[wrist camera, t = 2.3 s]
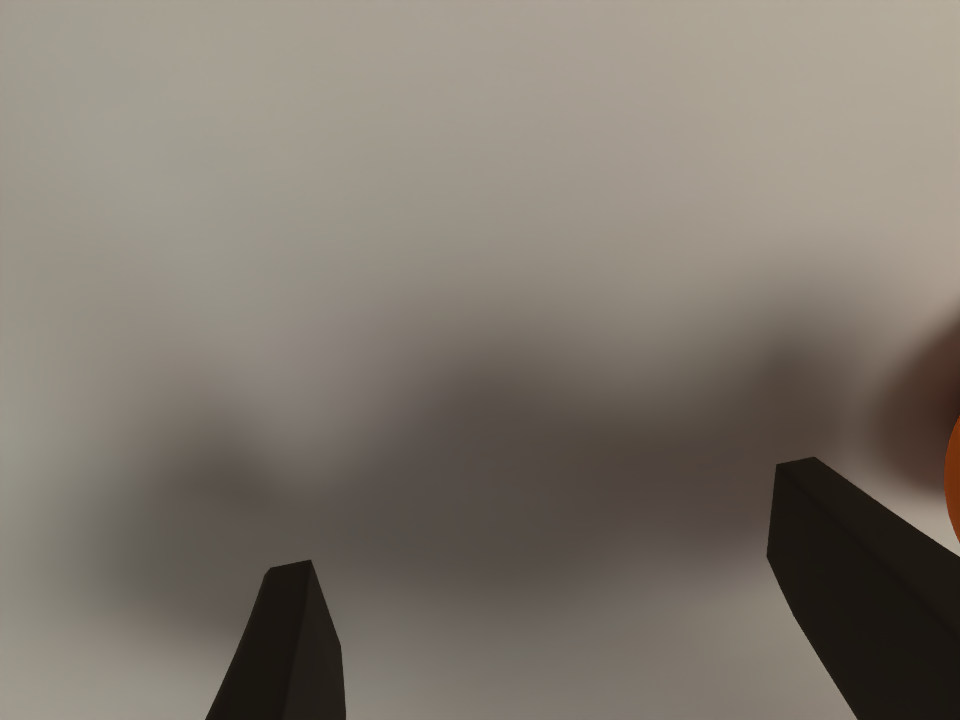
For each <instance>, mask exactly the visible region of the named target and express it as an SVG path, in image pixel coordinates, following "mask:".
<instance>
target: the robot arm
mask: <svg viewBox="0 0 960 720" xmlns="http://www.w3.org/2000/svg"><path fill="white" fill-rule="evenodd" d="M767 559H768V561H769V563H770V565H771V568H772V570H773V572H774V574H775V577H776V579H777V581H778V583H779V586H780V588H781V590H782V592H783V594H784V596H785V598H786V601H787V603H788V605H789V607H790V609H791V611H792V613H793V615H794V617H795V619H796V620H797V622H798V624H799V625H800V627H801V629H802V631H803V632H804V634H805V635H806V637H807V639H808V640H809V642H810V644H811V645H812V647H813V648H814V650H815V652H816V653H817V655H818V657H819V658H820V660H821V662H822V663H823V665H824V666H825V668H826V670H827V671H828V673H829V674H830V676H831V678H832V679H833V681H834V682H835V684H836V686H837V687H838V689H839V690H840V692H841V694H842V695H843V697H844V699H845V700H846V702H847V703H848V705H849V707H850V708H851V710H852V711H853V713H854V715H855V716H856V718H857V719H858V720H960V557H959V556H957V555H956V554H954V553H953V552H951V551H949V550H948V549H946V548H945V547H943V546H942V545H940V544H939V543H937V542H936V541H934V540H933V539H931V538H930V537H928V536H927V535H925V534H924V533H922V532H921V531H919V530H918V529H916V528H915V527H913V526H912V525H911V524H909V523H908V522H906V521H905V520H903V519H902V518H900V517H899V516H897V515H896V514H895V513H893V512H892V511H890V510H889V509H887V508H886V507H885V506H883V505H882V504H880V503H879V502H878V501H876V500H875V499H873V498H872V497H870V496H869V495H868V494H866V493H865V492H863V491H862V490H861V489H859V488H858V487H856V486H855V485H854V484H852V483H851V482H849V481H848V480H847V479H845V478H844V477H842V476H841V475H840V474H838V473H837V472H835V471H834V470H833V469H831V468H830V467H828V466H827V465H826V464H824V463H823V462H821V461H820V460H818V459H817V458H816V457H810V458H805V459H800V460H795V461H790V462H786V463H781V464H776V472H775V481H774V490H773V500H772V509H771V518H770V528H769V537H768V547H767ZM205 720H346V706H345V691H344V678H343V666H342V653H341V645H340V642H339V639H338V636H337V633H336V631H335V628H334V625H333V622H332V619H331V616H330V613H329V610H328V607H327V604H326V602H325V599H324V596H323V593H322V590H321V587H320V584H319V581H318V578H317V575H316V573H315V570H314V567H313V564H312V561H311V560H306V561H301V562H296V563H291V564H287V565H282V566H277V567H272V568H270V569H269V570H268V571H267V572H266V574H265V575H264V578H263V581H262V584H261V587H260V590H259V593H258V596H257V599H256V601H255V604H254V607H253V610H252V612H251V615H250V618H249V620H248V623H247V625H246V628H245V630H244V633H243V635H242V638H241V640H240V643H239V645H238V648H237V650H236V653H235V655H234V657H233V660H232V662H231V664H230V666H229V669H228V671H227V673H226V675H225V678H224V680H223V682H222V684H221V687H220V689H219V691H218V693H217V696H216V698H215V700H214V702H213V704H212V706H211V709H210V711H209V713H208V715H207V717H206V719H205Z"/></svg>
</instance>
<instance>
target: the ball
mask: <svg viewBox="0 0 960 720" xmlns="http://www.w3.org/2000/svg"><path fill="white" fill-rule="evenodd" d="M944 491H945V497H946V503H947V508H948V514H949V517H950V520H951V523H952V526H953V529H954V531H955V534H956V536H957V538H958V541H959V543H960V416H959V418H958V420H957V422H956V424H955V426H954V428H953V431H952V434H951V437H950V440H949V444H948V448H947V452H946V458H945V465H944Z"/></svg>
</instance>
